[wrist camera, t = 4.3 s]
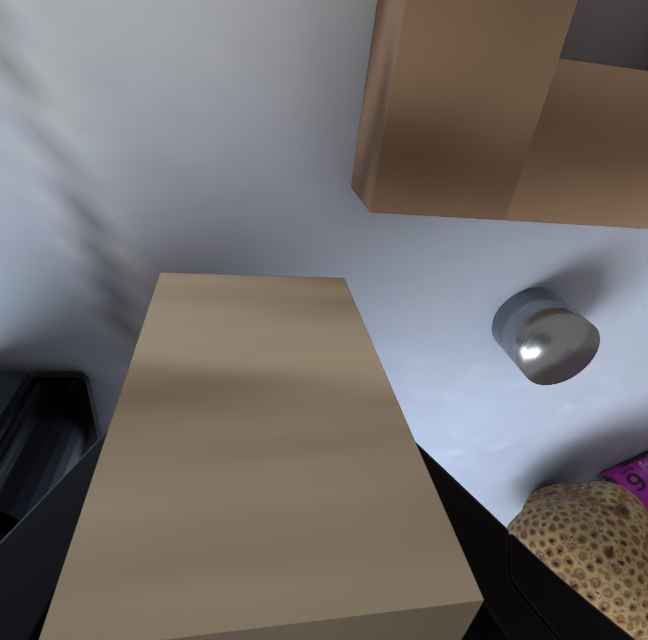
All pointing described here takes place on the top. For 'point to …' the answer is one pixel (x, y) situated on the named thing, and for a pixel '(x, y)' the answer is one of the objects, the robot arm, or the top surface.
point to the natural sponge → (593, 545)
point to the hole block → (498, 118)
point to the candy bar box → (631, 477)
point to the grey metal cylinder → (545, 336)
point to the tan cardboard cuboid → (260, 482)
